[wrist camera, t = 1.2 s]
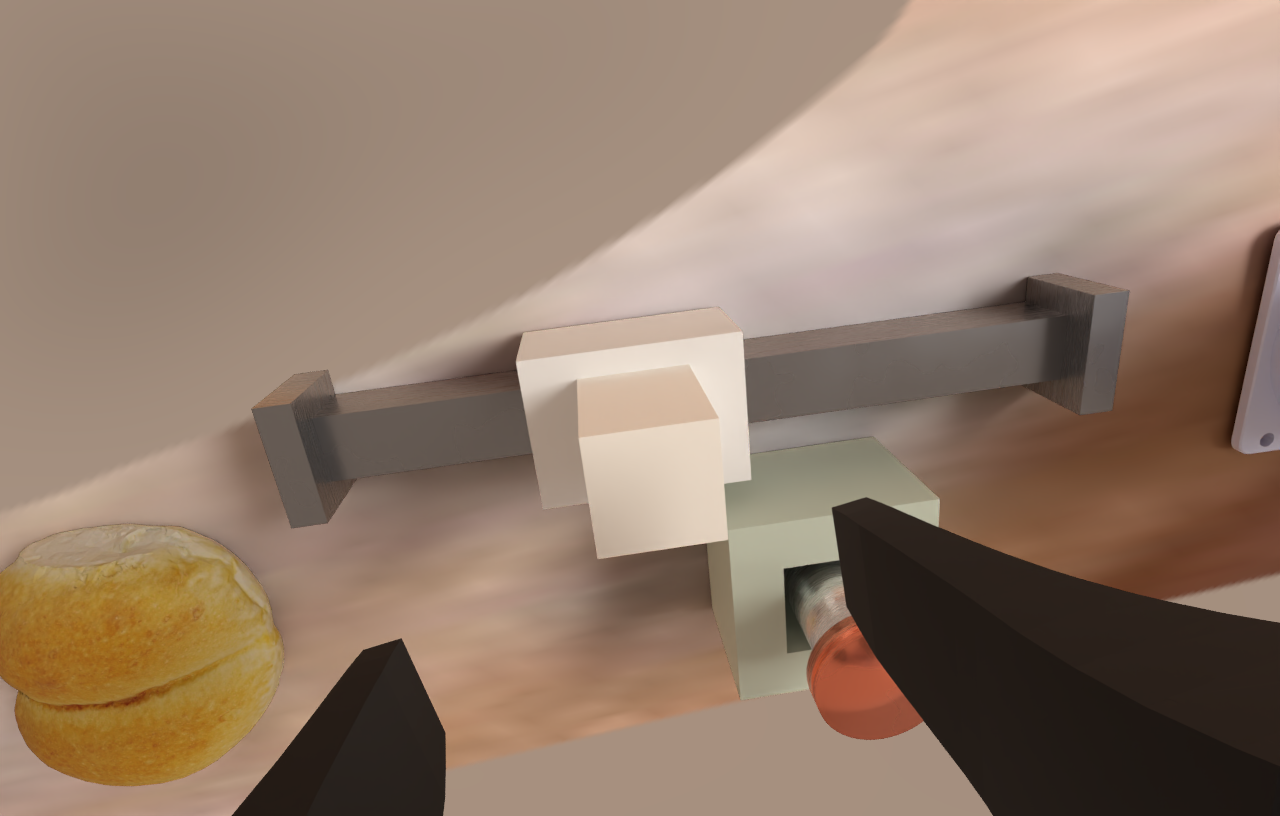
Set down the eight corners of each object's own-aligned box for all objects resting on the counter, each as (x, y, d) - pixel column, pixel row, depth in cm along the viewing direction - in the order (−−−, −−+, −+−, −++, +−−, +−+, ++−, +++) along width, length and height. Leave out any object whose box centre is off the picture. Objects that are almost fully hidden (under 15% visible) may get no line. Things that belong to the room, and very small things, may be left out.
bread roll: (78, 740, 25) (-9, 844, 21) (-4, 523, 22) (-124, 600, 18) (314, 723, 26) (270, 821, 22) (268, 510, 22) (207, 582, 19)
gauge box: (873, 436, 23) (940, 498, 19) (871, 584, 25) (931, 669, 21) (699, 461, 23) (727, 530, 19) (712, 609, 25) (740, 700, 21)
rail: (1057, 273, 22) (1129, 290, 19) (1046, 379, 23) (1111, 410, 20) (294, 374, 21) (251, 409, 18) (327, 480, 22) (291, 528, 19)
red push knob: (865, 511, 21) (954, 620, 16) (864, 602, 23) (947, 727, 18) (758, 527, 21) (815, 641, 16) (763, 617, 22) (818, 749, 17)
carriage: (718, 306, 21) (786, 377, 14) (728, 437, 23) (793, 556, 16) (523, 332, 21) (500, 417, 14) (546, 463, 22) (536, 595, 16)
